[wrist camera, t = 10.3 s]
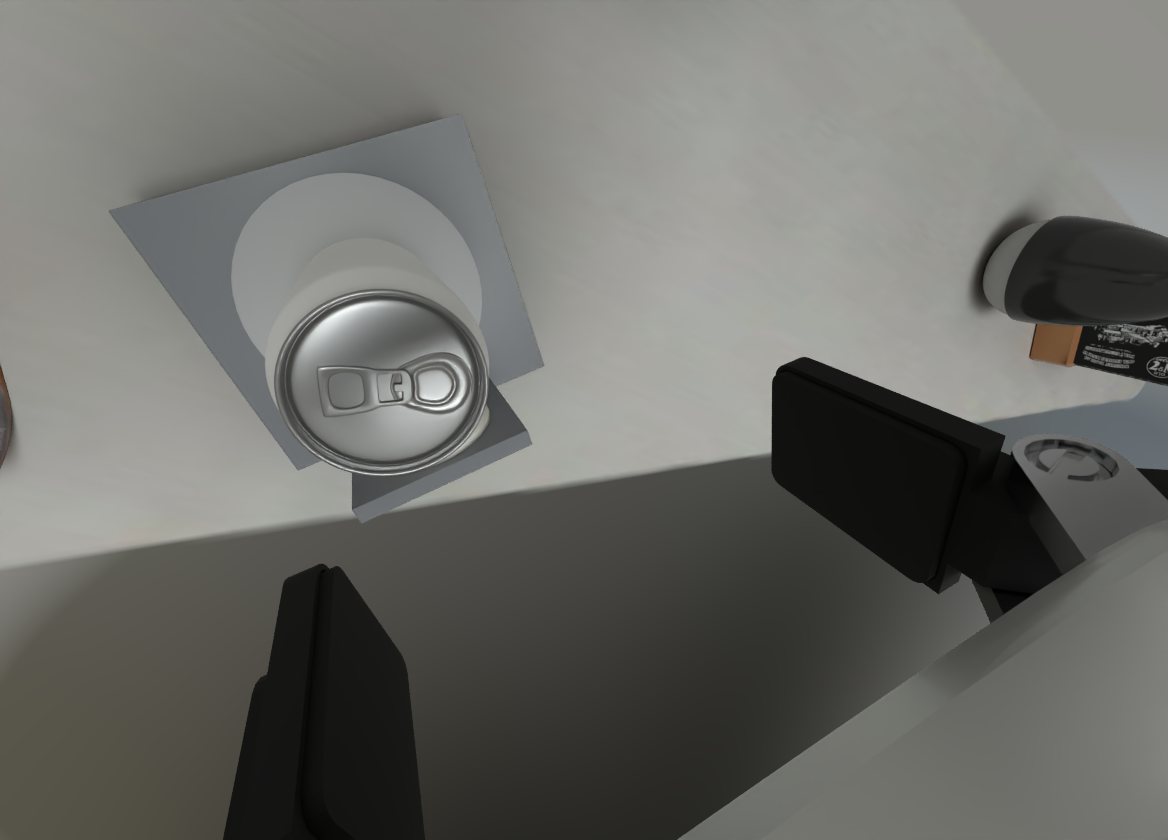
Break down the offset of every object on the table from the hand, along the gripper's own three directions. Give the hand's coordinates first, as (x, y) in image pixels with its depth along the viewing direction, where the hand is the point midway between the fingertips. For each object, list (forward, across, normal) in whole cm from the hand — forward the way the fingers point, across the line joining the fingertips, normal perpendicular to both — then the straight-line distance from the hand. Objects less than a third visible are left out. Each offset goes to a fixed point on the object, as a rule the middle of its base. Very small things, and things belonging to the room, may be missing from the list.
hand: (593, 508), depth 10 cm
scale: (+23, +4, -1) cm, 24 cm away
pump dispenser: (+24, -57, +15) cm, 63 cm away
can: (+19, +3, -1) cm, 19 cm away
